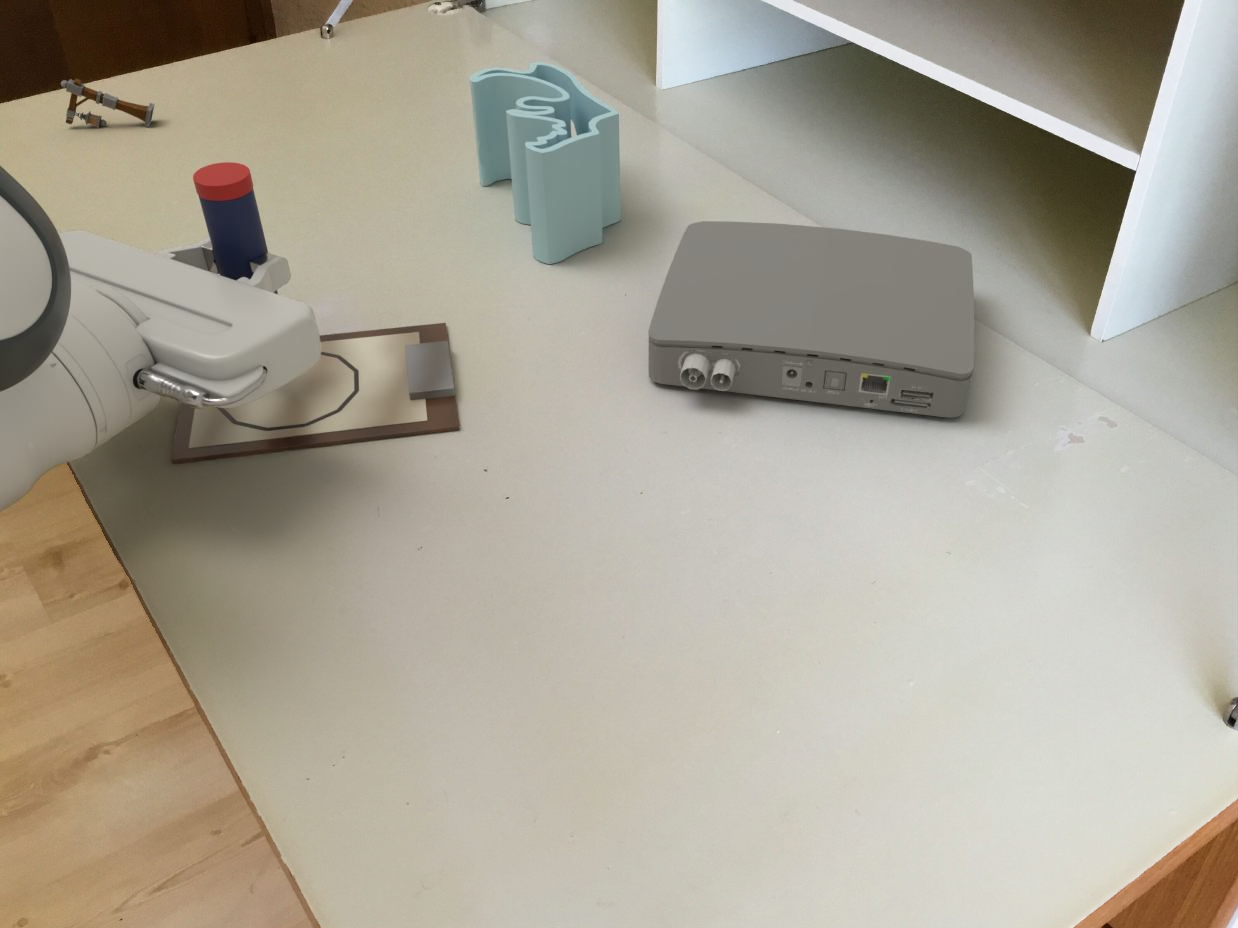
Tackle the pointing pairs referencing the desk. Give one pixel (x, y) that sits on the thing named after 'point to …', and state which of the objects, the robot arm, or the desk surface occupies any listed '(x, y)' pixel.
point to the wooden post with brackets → (106, 100)
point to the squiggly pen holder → (549, 154)
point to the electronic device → (817, 317)
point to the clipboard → (337, 399)
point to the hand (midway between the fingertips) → (253, 256)
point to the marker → (231, 217)
